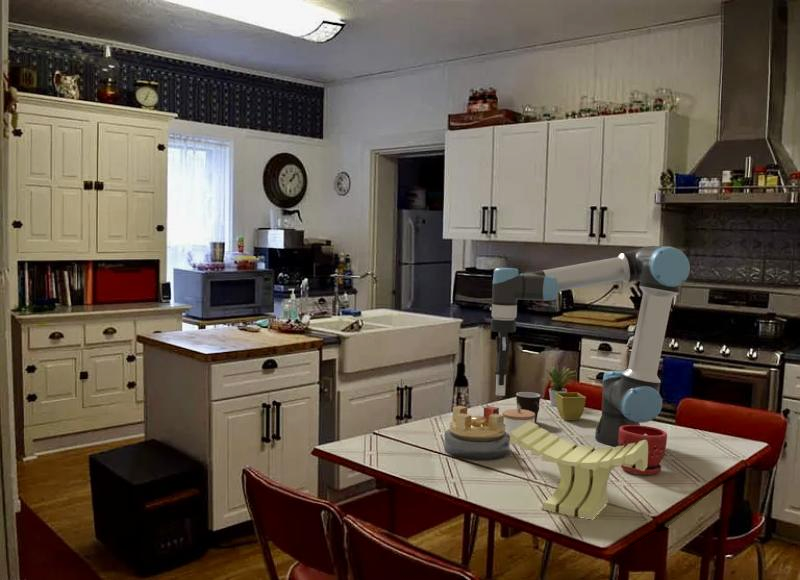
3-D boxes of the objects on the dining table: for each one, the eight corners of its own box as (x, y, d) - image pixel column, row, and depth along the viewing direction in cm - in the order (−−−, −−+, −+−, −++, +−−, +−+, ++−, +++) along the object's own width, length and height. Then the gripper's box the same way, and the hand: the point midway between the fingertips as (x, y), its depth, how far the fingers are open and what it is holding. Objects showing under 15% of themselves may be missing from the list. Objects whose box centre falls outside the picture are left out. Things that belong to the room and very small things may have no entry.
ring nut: (515, 434, 226) (516, 412, 226) (482, 445, 214) (483, 421, 213) (472, 423, 238) (472, 402, 237) (438, 433, 225) (438, 410, 225)
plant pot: (660, 480, 202) (662, 438, 201) (612, 472, 208) (614, 431, 207) (668, 468, 213) (670, 427, 212) (622, 460, 219) (624, 421, 218)
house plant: (569, 411, 279) (571, 369, 278) (534, 406, 286) (536, 365, 285) (580, 404, 291) (582, 364, 290) (546, 400, 298) (548, 360, 297)
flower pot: (554, 416, 272) (555, 392, 271) (576, 415, 273) (577, 392, 272) (561, 422, 263) (562, 397, 263) (585, 422, 264) (586, 397, 264)
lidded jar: (536, 440, 239) (537, 412, 238) (504, 439, 239) (504, 411, 238) (531, 431, 249) (532, 404, 249) (500, 430, 250) (501, 403, 249)
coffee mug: (514, 418, 267) (515, 391, 266) (538, 419, 266) (539, 392, 265) (515, 426, 255) (516, 398, 255) (540, 428, 254) (541, 399, 254)
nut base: (522, 451, 227) (522, 434, 226) (483, 465, 212) (483, 447, 212) (471, 437, 240) (471, 422, 240) (431, 449, 226) (431, 433, 225)
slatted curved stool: (645, 507, 182) (648, 436, 180) (630, 528, 168) (633, 452, 166) (530, 484, 197) (532, 419, 195) (507, 502, 183) (510, 432, 182)
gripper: (490, 315, 229) (486, 389, 231) (492, 320, 216) (489, 399, 218) (514, 316, 229) (510, 391, 231) (518, 321, 216) (514, 400, 218)
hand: (500, 394), depth 224 cm, fingers closed
